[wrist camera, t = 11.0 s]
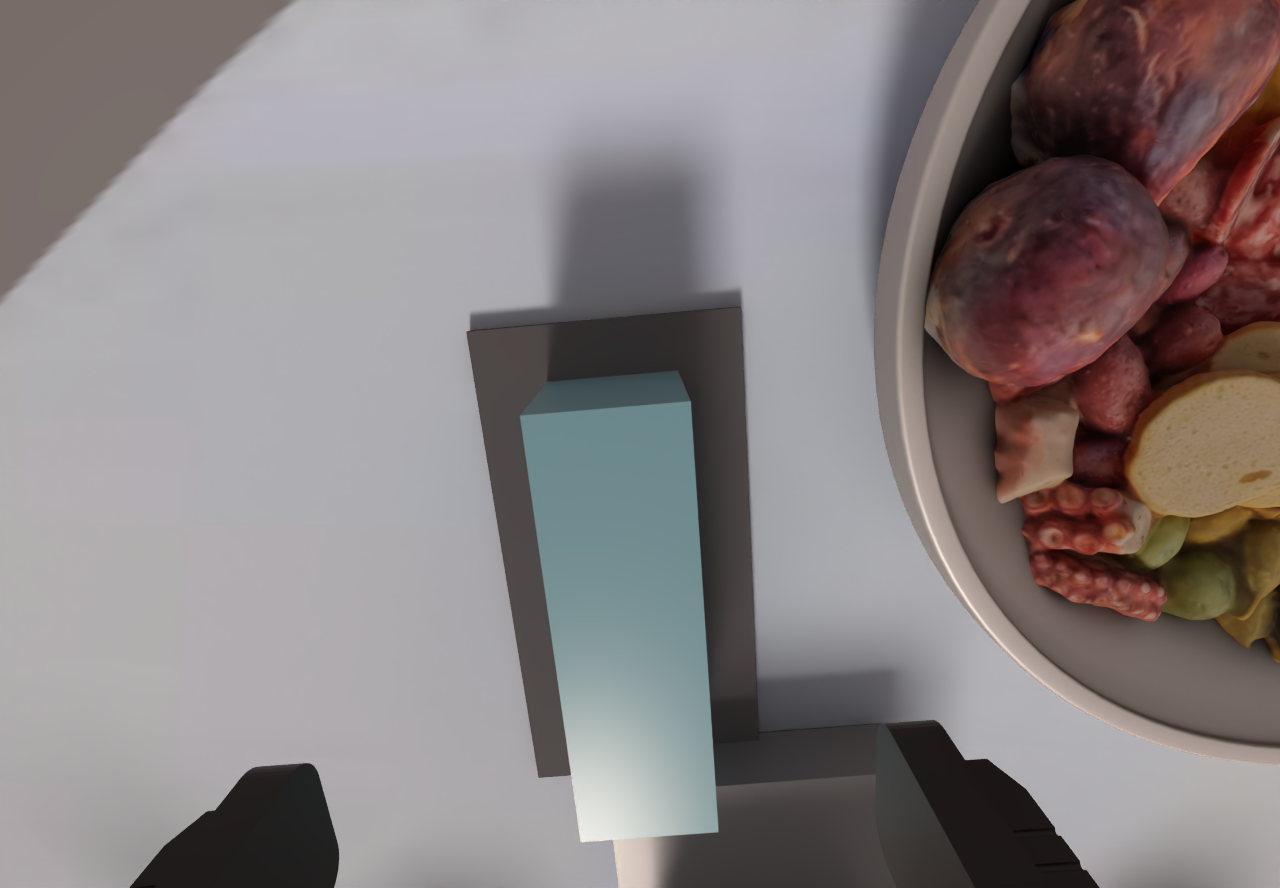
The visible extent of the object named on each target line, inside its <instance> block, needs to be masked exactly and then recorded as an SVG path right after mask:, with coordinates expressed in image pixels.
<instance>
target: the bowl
mask: <svg viewBox="0 0 1280 888" xmlns="http://www.w3.org/2000/svg"><path fill="white" fill-rule="evenodd" d="M874 360H875V378H876V390H877V398H878V406H879V414H880V420H881V425H882V430H883V435H884V441H885V446H886V449H887V453H888V457H889V460H890V464H891V468H892V471H893V475H894V478H895V480H896V483H897V486H898V489H899V492H900V495H901V498H902V500H903V503H904V506H905V508H906V510H907V512H908V515H909V517H910V519H911V522H912V524H913V526H914V528H915V531H916V533H917V535H918V536H919V538H920V540H921V542H922V544H923V546H924V548H925V550H926V551H927V553H928V555H929V557H930V558H931V560H932V562H933V563H934V565H935V566H936V568H937V570H938V571H939V573H940V574H941V576H942V577H943V579H944V581H945V582H946V584H947V585H948V586H949V588H950V589H951V590H952V592H953V593H954V594H955V596H956V597H957V598H958V600H959V601H960V602H961V604H962V605H963V606H964V608H965V609H966V610H967V611H968V612H969V613H970V615H971V616H972V617H973V618H974V619H975V620H976V621H977V623H978V624H979V625H980V626H981V627H982V628H983V629H984V631H985V632H986V633H987V634H988V635H989V636H990V637H991V638H992V639H993V640H994V641H995V642H996V643H997V644H998V645H999V646H1000V647H1001V648H1002V649H1003V650H1004V651H1005V652H1006V653H1007V654H1008V655H1009V656H1010V657H1011V658H1012V659H1013V660H1014V661H1015V662H1016V663H1017V664H1018V665H1019V666H1020V667H1022V668H1023V669H1024V670H1025V671H1026V672H1028V673H1029V674H1030V675H1031V676H1032V677H1034V678H1035V679H1036V680H1037V681H1038V682H1040V683H1041V684H1042V685H1044V686H1045V687H1046V688H1048V689H1049V690H1051V691H1052V692H1053V693H1055V694H1056V695H1058V696H1059V697H1061V698H1062V699H1063V700H1065V701H1067V702H1068V703H1070V704H1072V705H1073V706H1075V707H1077V708H1078V709H1080V710H1082V711H1083V712H1085V713H1087V714H1088V715H1090V716H1092V717H1094V718H1096V719H1098V720H1100V721H1102V722H1104V723H1106V724H1108V725H1110V726H1112V727H1115V728H1117V729H1119V730H1122V731H1124V732H1127V733H1129V734H1131V735H1134V736H1136V737H1139V738H1142V739H1145V740H1148V741H1151V742H1154V743H1156V744H1159V745H1162V746H1166V747H1170V748H1173V749H1177V750H1181V751H1184V752H1188V753H1192V754H1197V755H1202V756H1207V757H1212V758H1217V759H1223V760H1230V761H1237V762H1244V763H1255V764H1267V765H1280V0H979V2H978V4H977V5H976V7H975V9H974V10H973V12H972V14H971V15H970V17H969V19H968V20H967V22H966V24H965V25H964V27H963V29H962V31H961V33H960V35H959V37H958V39H957V41H956V42H955V44H954V46H953V48H952V50H951V52H950V54H949V56H948V58H947V60H946V61H945V63H944V65H943V67H942V70H941V72H940V74H939V76H938V78H937V81H936V83H935V85H934V87H933V89H932V92H931V94H930V96H929V98H928V100H927V102H926V105H925V107H924V110H923V113H922V115H921V118H920V120H919V123H918V125H917V128H916V130H915V133H914V136H913V138H912V141H911V144H910V147H909V150H908V153H907V156H906V159H905V162H904V165H903V168H902V171H901V174H900V177H899V180H898V184H897V188H896V191H895V195H894V199H893V203H892V207H891V210H890V214H889V218H888V223H887V228H886V233H885V238H884V243H883V248H882V253H881V260H880V268H879V275H878V282H877V292H876V305H875V318H874Z"/></svg>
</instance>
